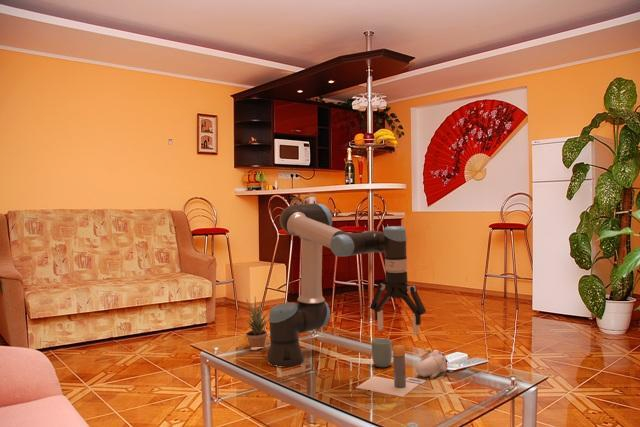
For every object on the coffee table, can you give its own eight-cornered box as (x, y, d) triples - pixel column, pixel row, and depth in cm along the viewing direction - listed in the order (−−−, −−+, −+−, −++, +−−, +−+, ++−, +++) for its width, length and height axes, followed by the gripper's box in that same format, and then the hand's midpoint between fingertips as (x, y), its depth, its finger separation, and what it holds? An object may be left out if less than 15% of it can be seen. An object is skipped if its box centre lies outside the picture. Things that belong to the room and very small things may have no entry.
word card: (403, 381, 191) (403, 380, 191) (408, 377, 194) (408, 376, 194) (421, 384, 187) (421, 383, 187) (426, 380, 190) (426, 379, 190)
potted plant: (242, 350, 239) (239, 295, 238) (256, 344, 247) (253, 291, 246) (259, 353, 233) (256, 297, 232) (273, 347, 241) (270, 293, 240)
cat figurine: (418, 354, 191) (444, 341, 200) (405, 361, 197) (431, 348, 206) (431, 379, 188) (458, 365, 197) (418, 385, 194) (444, 371, 203)
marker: (392, 387, 185) (390, 347, 184) (396, 383, 188) (395, 344, 188) (403, 388, 182) (401, 348, 182) (408, 384, 186) (406, 345, 186)
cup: (391, 369, 204) (390, 343, 204) (371, 369, 206) (370, 343, 205) (393, 363, 212) (392, 338, 211) (373, 362, 213) (372, 337, 213)
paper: (355, 388, 186) (355, 387, 186) (373, 376, 197) (373, 376, 197) (402, 397, 176) (402, 396, 176) (419, 384, 186) (419, 384, 186)
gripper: (359, 270, 188) (361, 329, 189) (425, 274, 174) (427, 338, 175) (369, 267, 194) (371, 325, 195) (434, 271, 180) (436, 333, 181)
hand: (397, 331), depth 185 cm, fingers open, 13 cm apart
